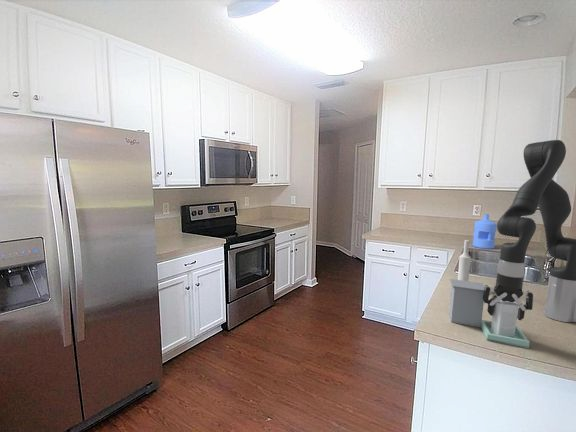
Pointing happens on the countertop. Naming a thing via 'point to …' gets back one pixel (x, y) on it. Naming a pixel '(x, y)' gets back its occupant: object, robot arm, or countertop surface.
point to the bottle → (464, 263)
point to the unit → (466, 302)
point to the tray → (517, 340)
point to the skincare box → (504, 318)
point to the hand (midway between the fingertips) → (504, 317)
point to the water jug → (484, 233)
